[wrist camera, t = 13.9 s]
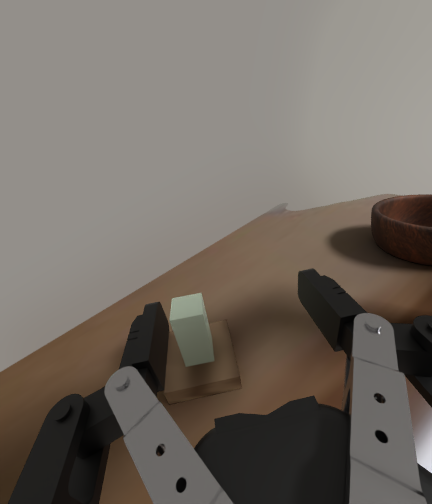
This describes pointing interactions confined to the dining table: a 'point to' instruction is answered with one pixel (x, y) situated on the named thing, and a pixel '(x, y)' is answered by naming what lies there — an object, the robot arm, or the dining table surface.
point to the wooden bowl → (404, 227)
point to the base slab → (202, 369)
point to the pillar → (192, 329)
